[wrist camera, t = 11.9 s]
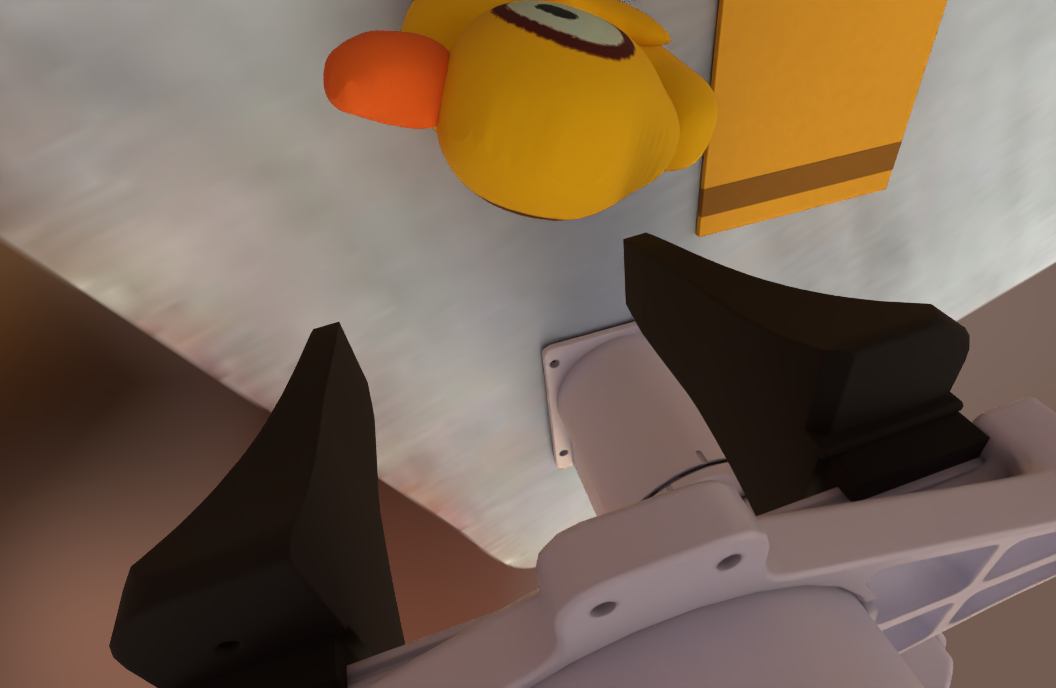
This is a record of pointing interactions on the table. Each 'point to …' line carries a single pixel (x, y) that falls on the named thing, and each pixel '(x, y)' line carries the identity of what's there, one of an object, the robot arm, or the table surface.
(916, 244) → the table surface
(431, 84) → the duckling
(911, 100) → the cloth
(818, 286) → the table surface
